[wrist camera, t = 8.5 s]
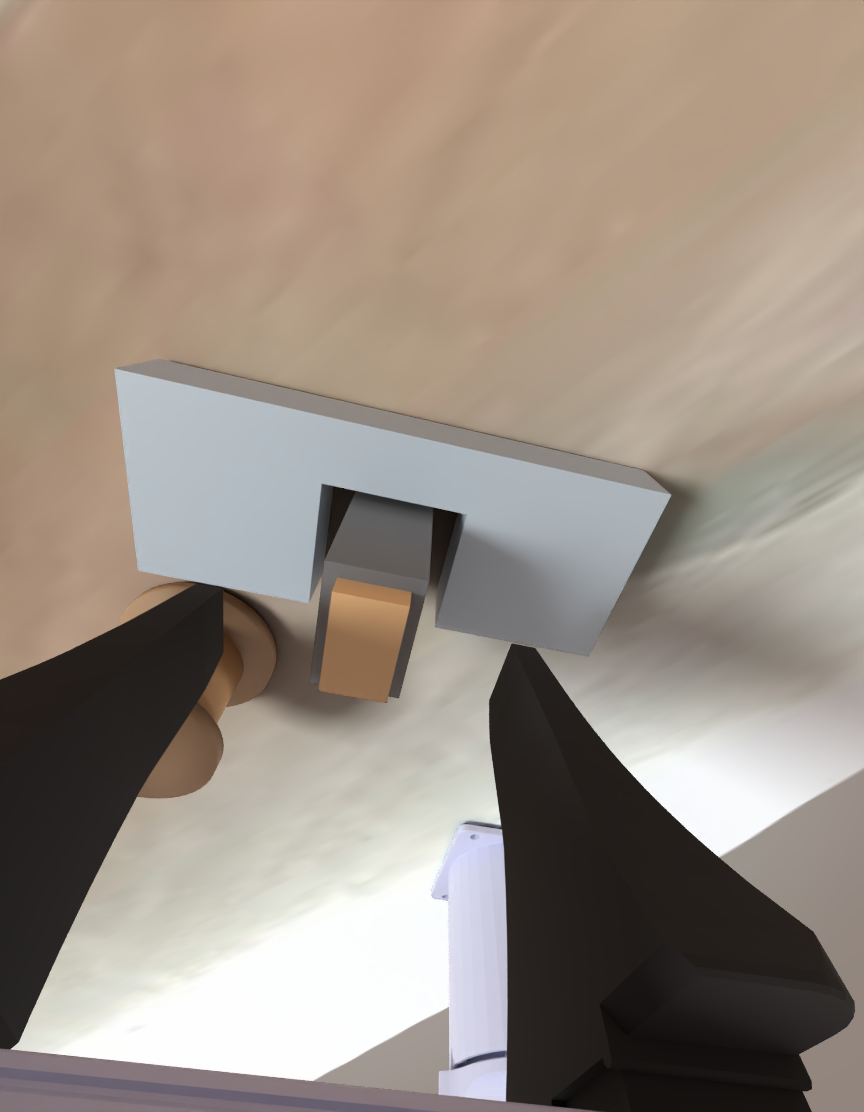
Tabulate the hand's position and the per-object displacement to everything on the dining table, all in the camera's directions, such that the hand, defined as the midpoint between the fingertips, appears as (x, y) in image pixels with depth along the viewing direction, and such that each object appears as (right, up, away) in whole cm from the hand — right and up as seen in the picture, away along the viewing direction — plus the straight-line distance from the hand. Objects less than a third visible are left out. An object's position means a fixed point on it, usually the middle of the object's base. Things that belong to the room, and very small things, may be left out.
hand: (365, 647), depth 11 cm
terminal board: (0, +4, +5) cm, 6 cm away
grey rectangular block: (0, +3, +6) cm, 6 cm away
